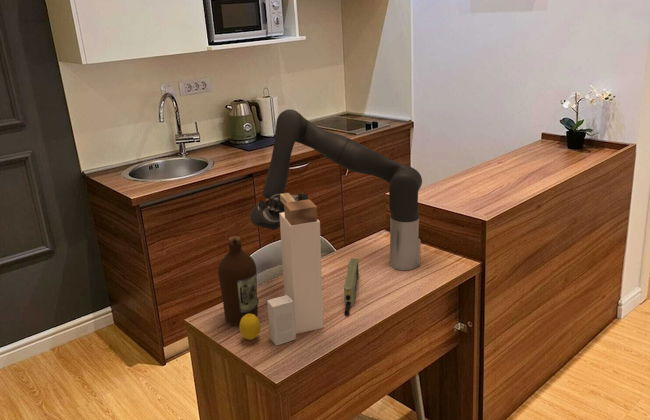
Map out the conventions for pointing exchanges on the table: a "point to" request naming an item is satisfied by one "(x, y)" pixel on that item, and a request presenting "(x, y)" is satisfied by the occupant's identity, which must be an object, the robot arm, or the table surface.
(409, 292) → the table surface
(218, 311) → the table surface
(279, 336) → the skincare box
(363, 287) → the table surface
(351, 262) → the handheld radio
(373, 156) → the robot arm
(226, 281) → the olive oil
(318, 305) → the stand
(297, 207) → the mallet
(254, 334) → the lemon
